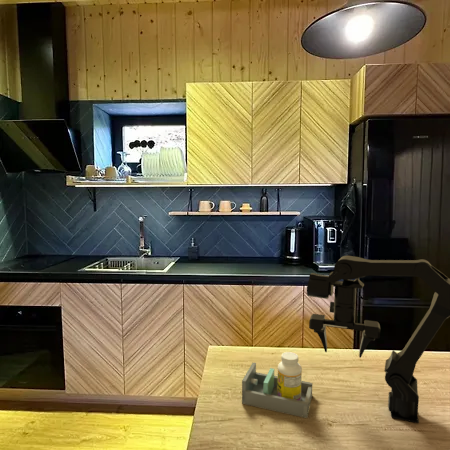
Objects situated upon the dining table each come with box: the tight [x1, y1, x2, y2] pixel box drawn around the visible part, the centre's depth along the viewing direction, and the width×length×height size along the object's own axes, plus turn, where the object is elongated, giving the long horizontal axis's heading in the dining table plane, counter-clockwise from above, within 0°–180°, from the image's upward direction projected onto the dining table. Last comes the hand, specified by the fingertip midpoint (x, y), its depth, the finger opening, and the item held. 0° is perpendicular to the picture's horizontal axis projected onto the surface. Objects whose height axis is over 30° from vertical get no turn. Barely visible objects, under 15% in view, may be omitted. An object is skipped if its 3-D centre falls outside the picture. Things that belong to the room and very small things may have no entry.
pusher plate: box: [263, 367, 275, 395], centre depth 101 cm, size 1×8×6 cm, turn 159°
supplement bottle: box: [277, 351, 303, 401], centre depth 99 cm, size 7×7×13 cm
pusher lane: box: [241, 362, 313, 419], centre depth 101 cm, size 18×11×7 cm, turn 70°
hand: (342, 354), depth 101 cm, fingers open, 9 cm apart
